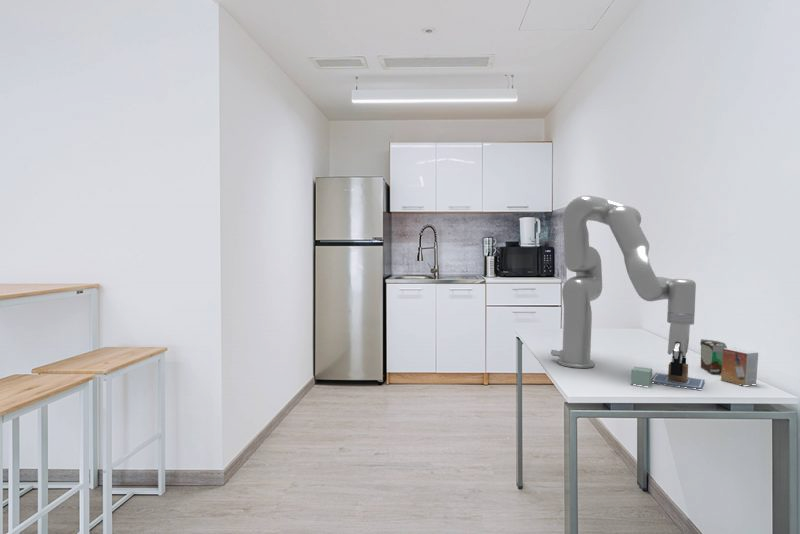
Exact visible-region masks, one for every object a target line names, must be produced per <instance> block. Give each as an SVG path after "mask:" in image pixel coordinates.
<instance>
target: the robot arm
mask: <svg viewBox="0 0 800 534" xmlns="http://www.w3.org/2000/svg"><path fill="white" fill-rule="evenodd" d="M563 211H564V212H563V216H562V230H563V233H562V234H563V252H564V254H563V258H564V265H565V267H566V269H567V270H568V271H570V272H573V273H575V274H576V275H575V276H572V277H569V278H568V279H567V280H566V281H565V282H564V284H563V286H562V290H561V292H562V293H561V294H562V302H563V325H562V327H563V329H562V330H563V331H562V349H560V350H556V349H551V351H550V355H551V356H552V357H558V359H557V363H558V364H559V366H564V367H566V368H567V367H568V368H573V369H574V368H575V369H576V368H577V369H589V368H594V367H595V366H596V365H595V364H596V363H595V361H593V360H591V348H592V341H591V340H592V320H593V319H592V317H593V316H592V314H593V313H592V305H591V302H592V301H595V300H597V299H598V298H599V297H600V296H601V294H602V291H603V276H602V275H603V270H602V257H601V255H600V252H599V251H598V250H597V249H596V248H594V246H593V247H592V246H590V237H589V235H590V234H589V230H588V227H587V226H588V225H587V223H588V222H587V221H590V222H591V221H594V222H598V223H601V224H603V225H606V226H608V227H609V228H610V231H611V232H612V235H613V237H614V238H615V240H616V242H617V244H618V246H619V248H620V250H621V253H622V255H623V260H624V261H623V262H624V265H625V269H626V272H627V276H628V278H629V279H630V282H631V284H632V286H633V288H634V290H635V292H636V293H637V295H638V296H639V297H640V298H641V299H642V300H644V301H646V302H655V301H663V300H667V313H666V314H667V315H666V316H667V318H666V322H667V323H668V324H669V323H670V324H669V332H668V346H667V354H668V355H669V356H670V355H671V354H672V355H671V361H670V362H671V375H675V376H682V372H683V363H684V364H687V355H686V354H687V353H688V351H689V343H690V331H691V330H690V327H691V325H695V315H696V314H695V313H696V312H695V311H696V291H697V290H696V289H697V284H696V281H695V280H692V279H689V278H688V279H686V278H669V277H668V278H667V277H663V276H656V274H655V271H654V270H653V268H652V266H651V263H650V259H649V251H650V242H649V241H648V240H647V237H646V235H645V233H644V231H643V229H642V228H641V226H640V225H641V222H642V215H641V214H640V212H639V210H638V209H637V208H634V207H632V206H629V205H625V204H622V203H618V202H616V201H614V200H613V201H612V200H609V199H607V198H604V197H600V196H599V197H598V196H595V195H594V196H593V195H586V194H585V195H582V196H578V197H576V198H574V199H572V200H571V201H570V202H569V203H567V205H566V207H565V208H564V210H563Z"/></svg>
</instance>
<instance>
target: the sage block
mask: <svg viewBox="0 0 800 534" xmlns="http://www.w3.org/2000/svg"><path fill="white" fill-rule="evenodd" d="M652 378H653V368H650V367H648V368H647V367H642V366H634V367H633V368H631V378H630V379H631V381H630V382H631V383H630V385H631V384H636V385H642V386H648V387H649V386H650V385H651V386H652V384H653V383H652ZM651 386H650V387H651ZM650 387H649V388H650Z"/></svg>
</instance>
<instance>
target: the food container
mask: <svg viewBox="0 0 800 534" xmlns="http://www.w3.org/2000/svg"><path fill="white" fill-rule="evenodd" d="M724 348H728V347H727V345H726V343H725V342H723V341H719V340H712V339H700V368H701V369H702V370H703V369H704V370H703V371H705V372H706V371H707V372H706V373H708V374H709V375H721V374H720V373H721V372H722V358H723V349H724Z"/></svg>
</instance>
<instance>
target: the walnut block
mask: <svg viewBox="0 0 800 534" xmlns="http://www.w3.org/2000/svg"><path fill="white" fill-rule="evenodd" d="M671 362H672V361H670V362H669V364H668V370H667V371H668V373H667V374H668V381H675V382H682V383H686V382H687V380H688V377H689V363H686V364H684V363H683V372H682V376H675V375H671Z"/></svg>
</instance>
